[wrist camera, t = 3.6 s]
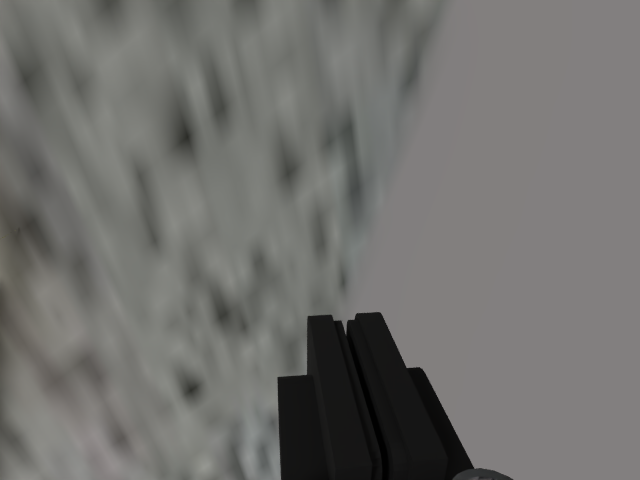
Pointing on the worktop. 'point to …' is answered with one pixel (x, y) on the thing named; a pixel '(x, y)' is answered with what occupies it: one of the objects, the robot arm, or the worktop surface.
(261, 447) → the worktop surface
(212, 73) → the worktop surface
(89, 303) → the worktop surface
